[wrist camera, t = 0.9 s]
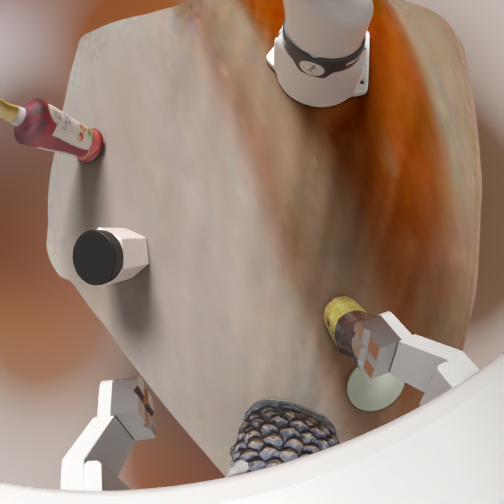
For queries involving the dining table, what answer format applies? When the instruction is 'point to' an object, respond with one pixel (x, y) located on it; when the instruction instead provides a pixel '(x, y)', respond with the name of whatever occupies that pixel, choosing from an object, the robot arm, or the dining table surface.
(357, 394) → the round plate
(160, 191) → the dining table surface
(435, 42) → the dining table surface
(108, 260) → the jar
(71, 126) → the liquor
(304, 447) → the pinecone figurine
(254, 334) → the dining table surface
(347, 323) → the sauce bottle
